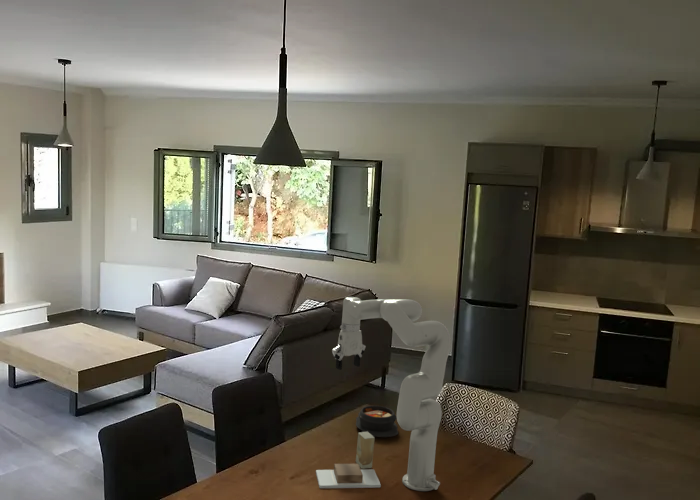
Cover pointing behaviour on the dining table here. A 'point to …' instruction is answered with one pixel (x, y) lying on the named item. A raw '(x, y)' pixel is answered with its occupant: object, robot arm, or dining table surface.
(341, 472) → the walnut plinth
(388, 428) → the casserole
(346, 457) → the dining table surface
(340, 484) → the white board
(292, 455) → the dining table surface
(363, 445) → the skincare box
